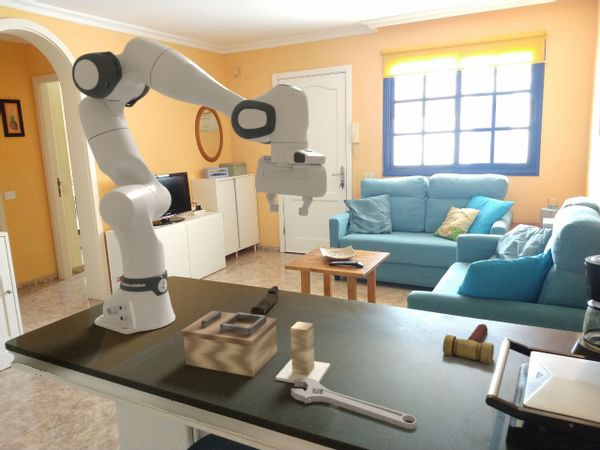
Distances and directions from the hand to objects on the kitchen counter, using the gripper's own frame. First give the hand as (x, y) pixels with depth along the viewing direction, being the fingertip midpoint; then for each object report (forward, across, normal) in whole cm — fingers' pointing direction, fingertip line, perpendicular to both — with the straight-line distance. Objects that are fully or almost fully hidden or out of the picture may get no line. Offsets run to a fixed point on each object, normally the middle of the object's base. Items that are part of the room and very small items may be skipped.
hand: (288, 213), depth 107 cm
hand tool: (+32, -19, +12) cm, 39 cm away
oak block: (+31, +15, -11) cm, 36 cm away
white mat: (+32, +15, -11) cm, 37 cm away
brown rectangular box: (+32, -3, -16) cm, 36 cm away
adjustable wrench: (+32, +29, -16) cm, 46 cm away
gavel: (+30, +39, +25) cm, 55 cm away
